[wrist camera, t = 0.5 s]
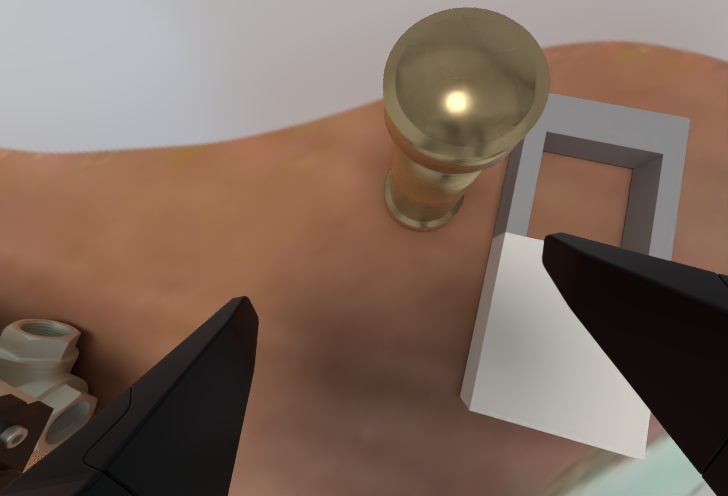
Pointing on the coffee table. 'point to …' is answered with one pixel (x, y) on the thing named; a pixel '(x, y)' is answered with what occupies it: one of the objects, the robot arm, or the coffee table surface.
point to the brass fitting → (456, 108)
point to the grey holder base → (542, 298)
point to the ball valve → (38, 392)
